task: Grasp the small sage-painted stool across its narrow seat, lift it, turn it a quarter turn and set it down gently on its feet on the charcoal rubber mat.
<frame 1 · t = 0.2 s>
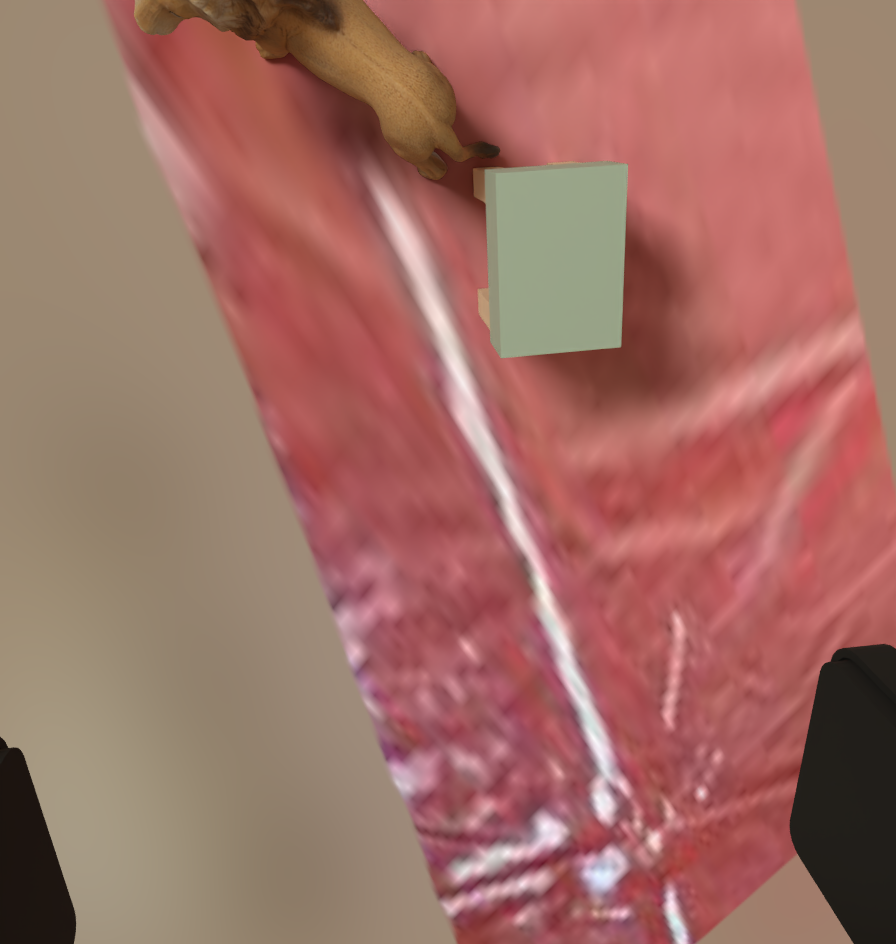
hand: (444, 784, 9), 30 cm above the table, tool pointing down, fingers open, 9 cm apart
lion figurine: (333, 64, 33), on the table
sage stool: (524, 240, 36), on the table
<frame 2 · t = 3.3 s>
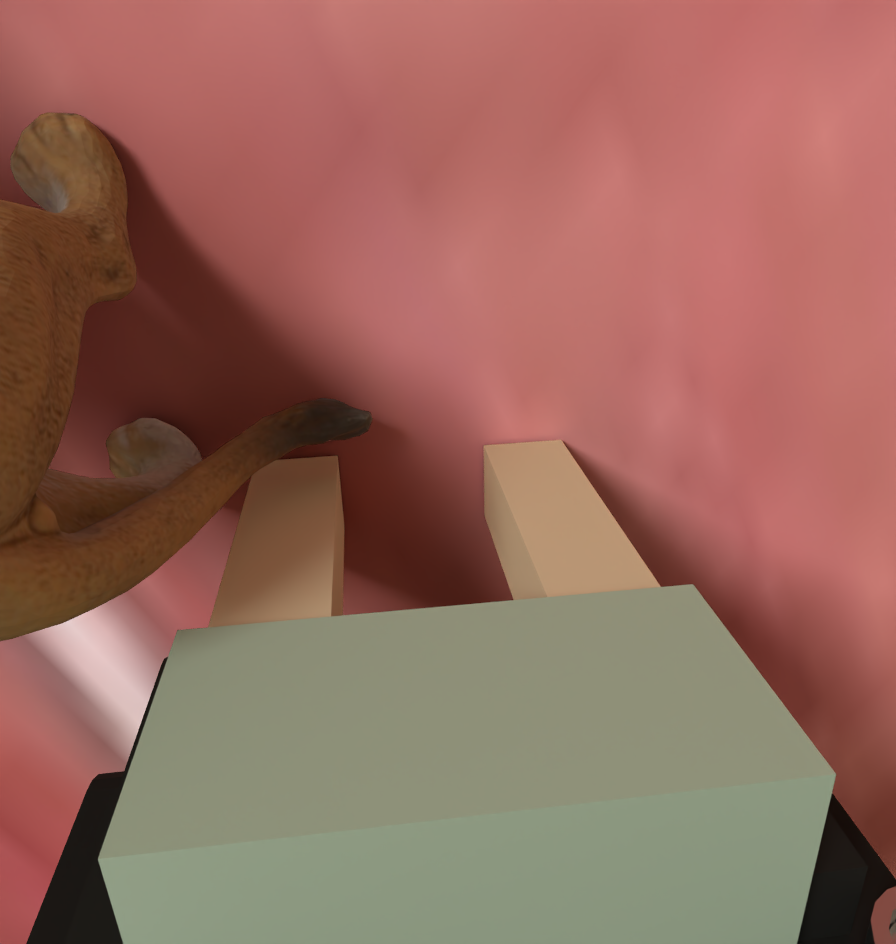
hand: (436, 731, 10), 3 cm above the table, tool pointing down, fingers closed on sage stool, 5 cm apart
sage stool: (420, 632, 13), on the table, touching gripper
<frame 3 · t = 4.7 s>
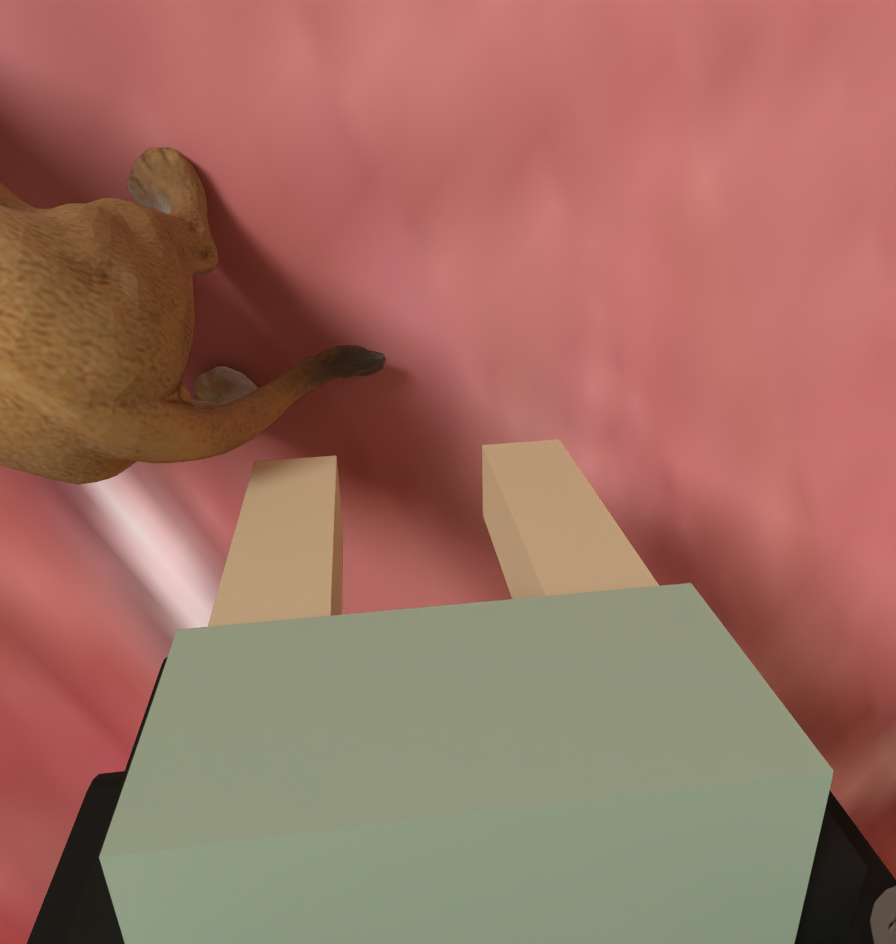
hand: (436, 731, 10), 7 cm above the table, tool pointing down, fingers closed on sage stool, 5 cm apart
sage stool: (419, 631, 13), point 4 cm above the table, touching gripper
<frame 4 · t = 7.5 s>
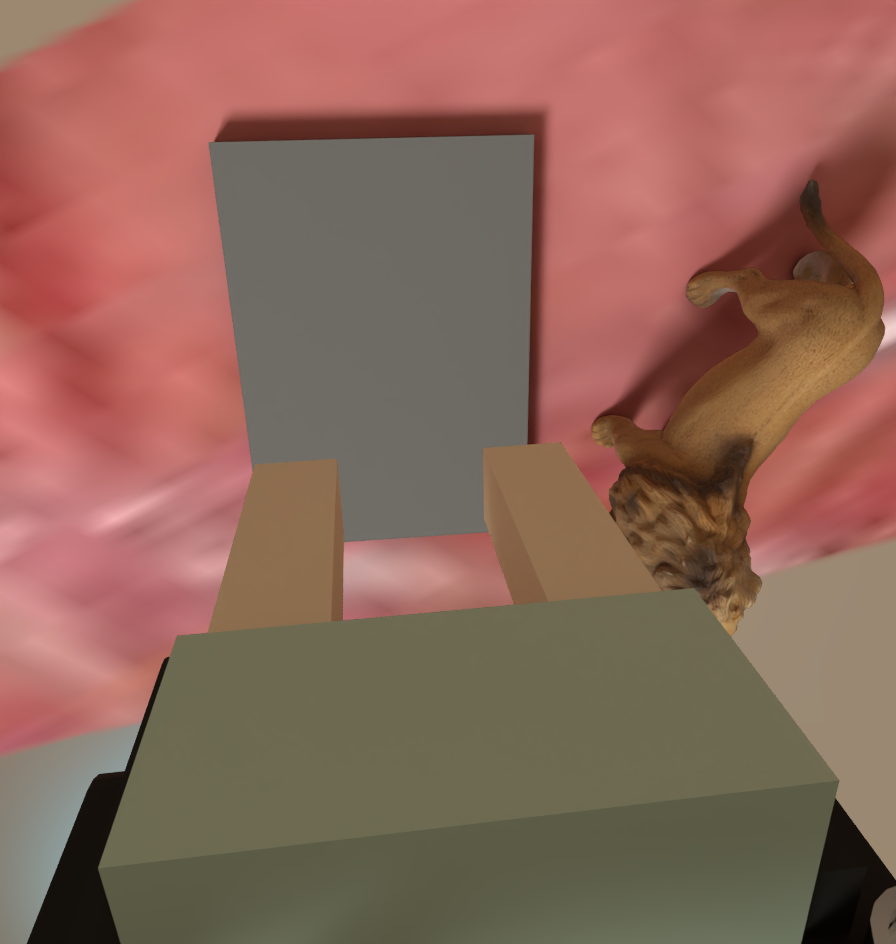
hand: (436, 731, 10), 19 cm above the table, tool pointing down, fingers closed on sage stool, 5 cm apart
lion figurine: (688, 383, 29), on the table
sage stool: (420, 635, 13), point 16 cm above the table, touching gripper
charcoal mat: (385, 353, 27), on the table
when the fingers open (5 cm above the table, at t = 11.9 s): sage stool drops 1 cm, resting on charcoal mat.
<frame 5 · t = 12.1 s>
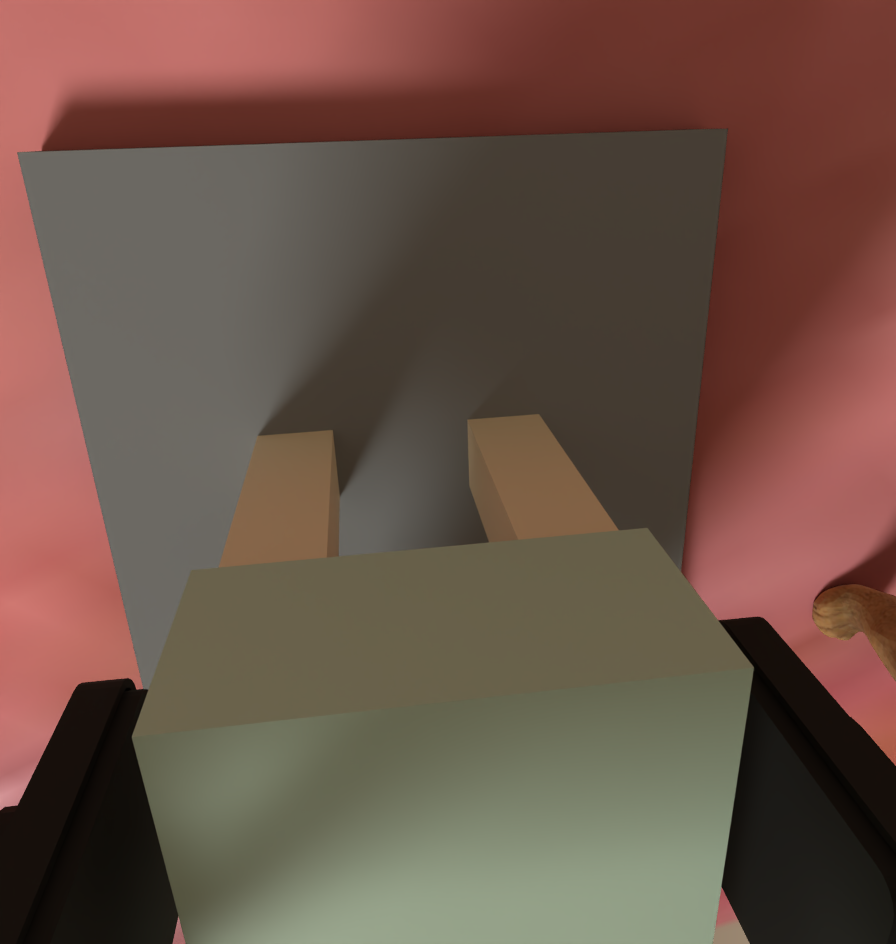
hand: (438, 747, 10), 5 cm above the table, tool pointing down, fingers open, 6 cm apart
sage stool: (412, 596, 14), point 1 cm above the table, touching charcoal mat
charcoal mat: (409, 547, 14), on the table
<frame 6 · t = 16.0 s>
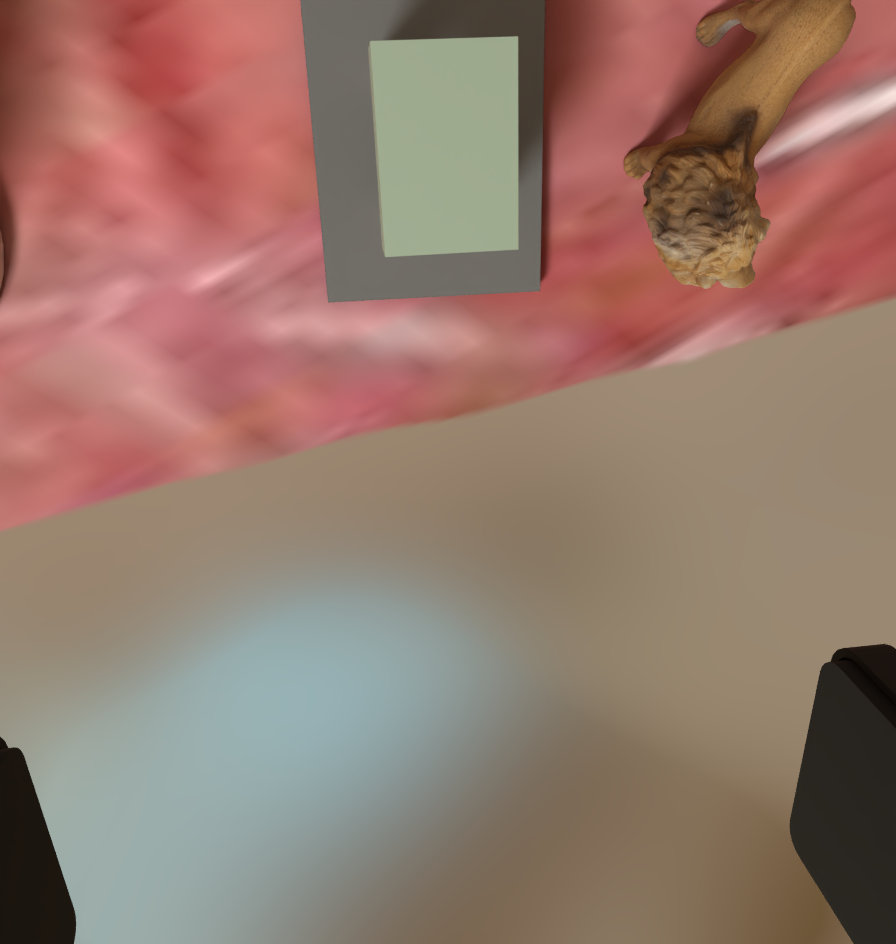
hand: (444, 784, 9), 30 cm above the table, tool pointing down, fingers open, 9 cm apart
lion figurine: (701, 120, 36), on the table
sage stool: (429, 148, 34), point 1 cm above the table, touching charcoal mat
charcoal mat: (427, 134, 34), on the table
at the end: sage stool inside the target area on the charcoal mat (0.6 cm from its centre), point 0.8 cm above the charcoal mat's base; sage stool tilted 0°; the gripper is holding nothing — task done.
